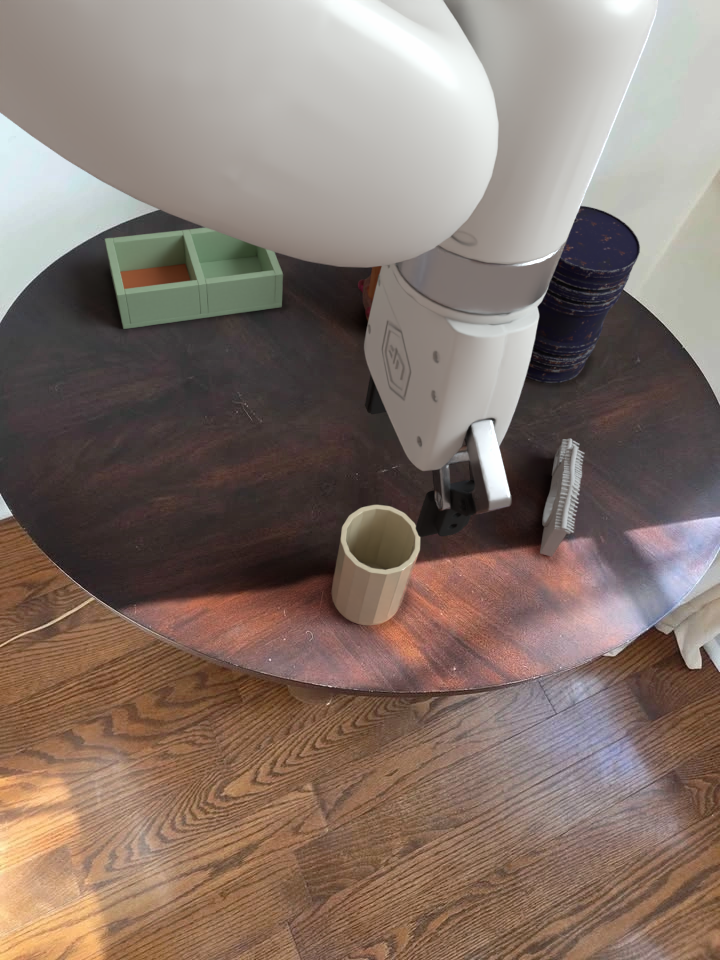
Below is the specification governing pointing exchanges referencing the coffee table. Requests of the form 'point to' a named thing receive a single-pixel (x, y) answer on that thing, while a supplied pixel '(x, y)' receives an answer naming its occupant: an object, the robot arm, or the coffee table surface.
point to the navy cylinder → (581, 294)
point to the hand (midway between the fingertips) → (412, 464)
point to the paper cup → (374, 564)
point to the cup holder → (190, 276)
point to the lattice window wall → (562, 496)
